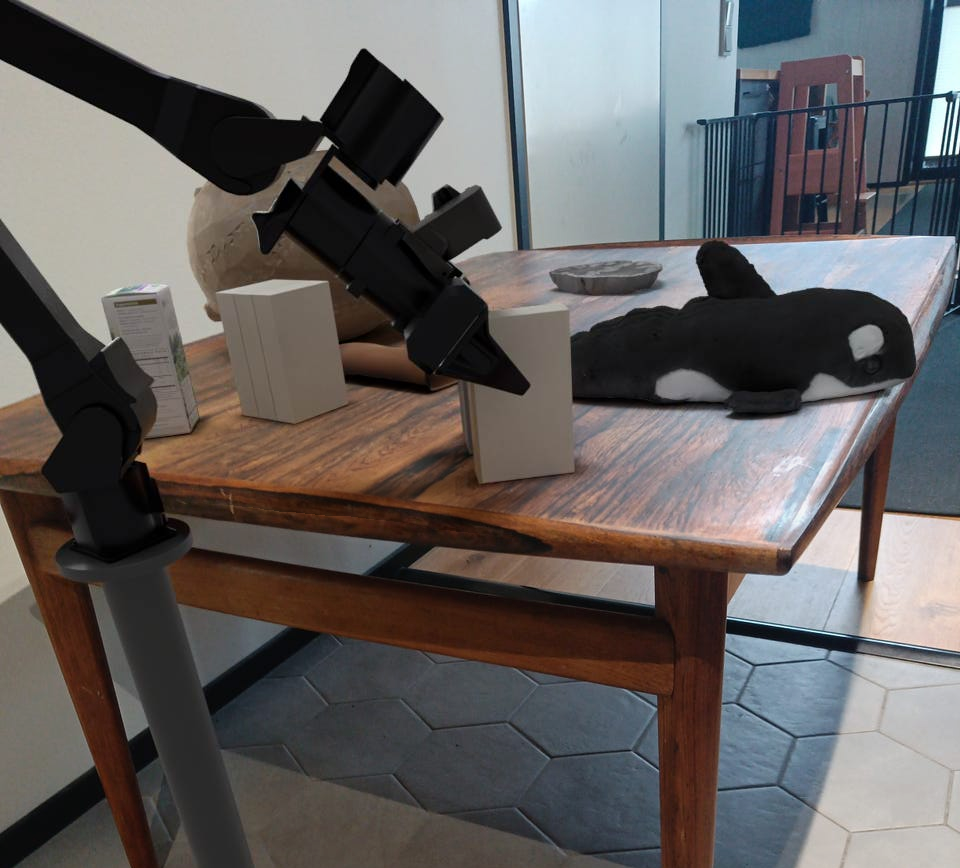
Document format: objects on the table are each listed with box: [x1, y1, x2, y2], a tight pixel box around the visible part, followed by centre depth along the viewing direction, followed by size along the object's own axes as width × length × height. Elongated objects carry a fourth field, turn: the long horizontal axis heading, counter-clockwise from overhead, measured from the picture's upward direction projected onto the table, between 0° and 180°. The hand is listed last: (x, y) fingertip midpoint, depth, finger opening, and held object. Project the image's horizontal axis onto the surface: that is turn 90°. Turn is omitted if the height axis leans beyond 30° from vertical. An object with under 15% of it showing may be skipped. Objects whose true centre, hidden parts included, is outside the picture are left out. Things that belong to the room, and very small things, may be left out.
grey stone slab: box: [548, 260, 664, 296], centre depth 151 cm, size 20×17×3 cm
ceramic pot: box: [185, 149, 421, 343], centre depth 129 cm, size 33×34×25 cm
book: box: [467, 302, 575, 485], centre depth 72 cm, size 8×3×13 cm, turn 97°
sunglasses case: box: [339, 342, 458, 392], centre depth 107 cm, size 18×7×7 cm, turn 50°
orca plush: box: [570, 239, 917, 414], centre depth 90 cm, size 21×41×14 cm, turn 61°
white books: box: [216, 280, 349, 425], centre depth 96 cm, size 8×9×13 cm
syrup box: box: [100, 283, 201, 439], centre depth 93 cm, size 6×6×14 cm
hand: (518, 377), depth 71 cm, fingers open, 8 cm apart
